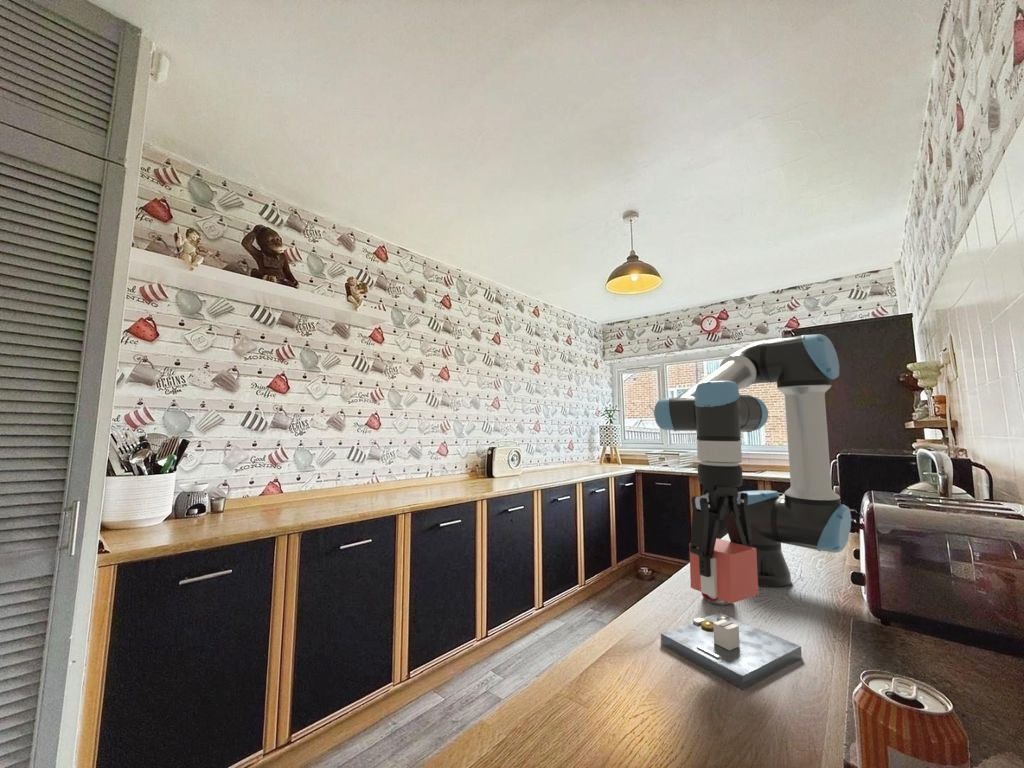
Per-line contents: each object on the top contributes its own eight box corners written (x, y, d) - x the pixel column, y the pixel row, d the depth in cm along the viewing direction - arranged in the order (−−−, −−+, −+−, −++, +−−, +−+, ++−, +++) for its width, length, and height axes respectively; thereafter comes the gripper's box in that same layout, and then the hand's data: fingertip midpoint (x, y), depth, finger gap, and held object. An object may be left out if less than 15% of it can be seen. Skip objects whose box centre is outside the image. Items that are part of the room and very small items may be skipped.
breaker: (724, 638, 79) (723, 618, 79) (739, 646, 76) (738, 624, 77) (714, 643, 77) (713, 622, 78) (729, 650, 75) (728, 628, 75)
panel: (719, 622, 90) (718, 608, 90) (801, 658, 76) (800, 641, 76) (661, 644, 81) (660, 628, 81) (743, 689, 67) (742, 670, 67)
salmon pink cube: (717, 580, 83) (715, 537, 84) (758, 594, 76) (756, 548, 77) (690, 587, 79) (689, 543, 80) (731, 603, 72) (729, 554, 73)
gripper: (733, 460, 88) (738, 573, 86) (665, 464, 78) (668, 593, 76) (770, 462, 82) (776, 585, 80) (701, 467, 71) (706, 609, 69)
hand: (724, 589), depth 78 cm, fingers closed on salmon pink cube, 8 cm apart
